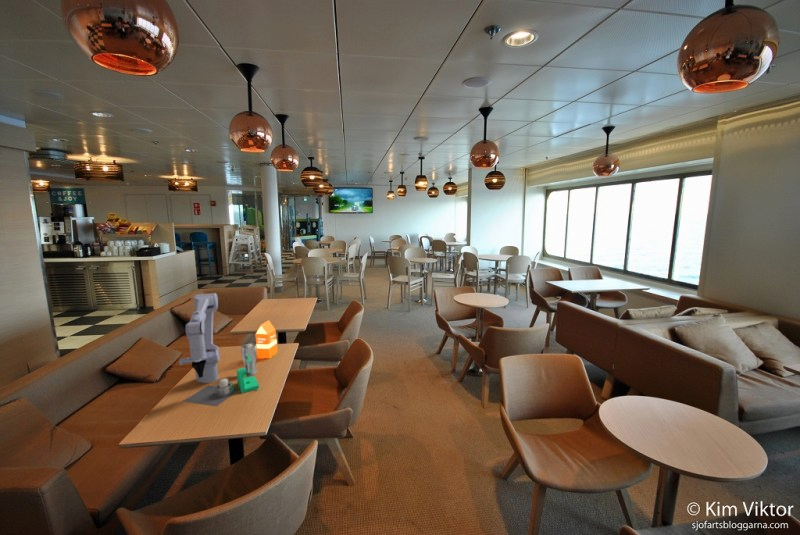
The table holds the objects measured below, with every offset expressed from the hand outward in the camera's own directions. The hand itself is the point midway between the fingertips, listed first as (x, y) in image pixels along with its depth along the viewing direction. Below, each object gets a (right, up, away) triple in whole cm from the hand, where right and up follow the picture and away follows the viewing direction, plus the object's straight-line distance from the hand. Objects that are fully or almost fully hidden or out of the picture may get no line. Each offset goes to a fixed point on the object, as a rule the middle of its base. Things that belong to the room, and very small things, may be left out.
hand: (201, 376), depth 149 cm
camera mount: (+18, -8, +8) cm, 21 cm away
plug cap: (+10, -8, +2) cm, 13 cm away
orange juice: (+12, -3, +45) cm, 47 cm away
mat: (+5, -9, 0) cm, 11 cm away
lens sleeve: (+10, -9, +2) cm, 13 cm away
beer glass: (+12, -6, +23) cm, 27 cm away
